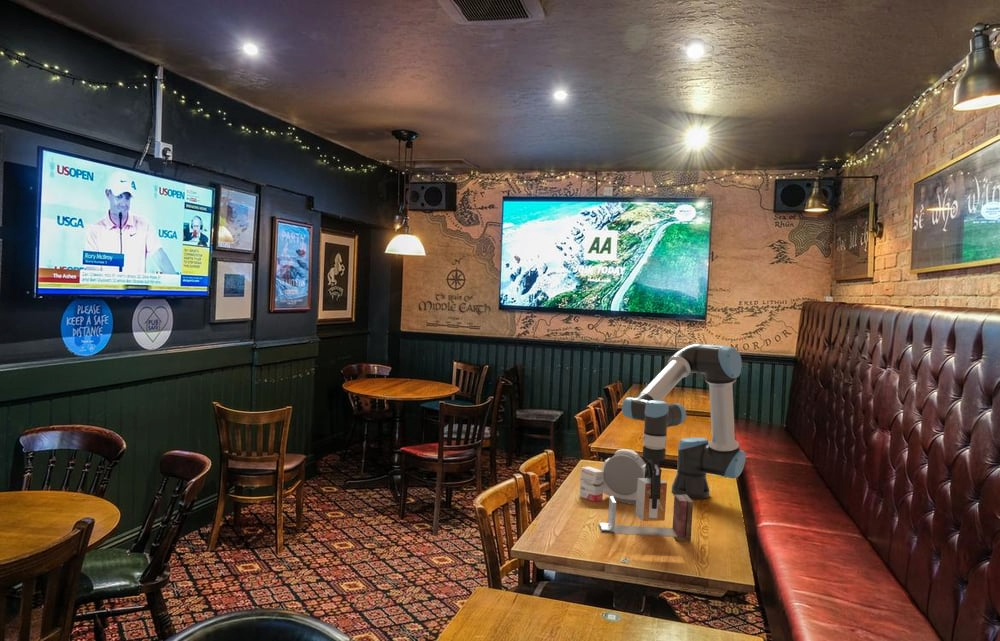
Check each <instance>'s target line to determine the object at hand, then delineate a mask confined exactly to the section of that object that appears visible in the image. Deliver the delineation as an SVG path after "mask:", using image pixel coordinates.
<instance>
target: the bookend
mask: <svg viewBox="0 0 1000 641" xmlns="http://www.w3.org/2000/svg"><path fill="white" fill-rule="evenodd" d="M608 500H609V502H608V518H607V519H608V520H607V522H599V524H600V527H601V530H602V531H611V532H615V525H616V513H617V501H615V499H614V497H613V496H610V497H609V499H608Z"/></svg>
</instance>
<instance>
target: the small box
mask: <svg viewBox="0 0 1000 641" xmlns="http://www.w3.org/2000/svg"><path fill="white" fill-rule="evenodd" d="M667 490H668V483H667V482H666V481H664V480H663V479H661V487H660V499H658V513H657V518H649V502H650V499H649V497H651V483H650V478H638V483H637V498H636V505H635V516H636V517H637V518H638V519H640V520H641V521H643V522H649V521H650V522H656V521H657V522H658V521H661V522H664V521H665V520H666V519H665V518H666V504H667V503H666V502H667V492H668V491H667Z"/></svg>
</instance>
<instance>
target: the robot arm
mask: <svg viewBox="0 0 1000 641" xmlns="http://www.w3.org/2000/svg"><path fill="white" fill-rule="evenodd" d="M742 368H743V362H742V356H741V354H740V352H739V351H738V350H737V348H735V347H733V346H727V345H717V344H716V345H715V344H704V343H693V344H690V345H687V346H685V347H683V348H681V349H680V350H678V351H676V352H675V353H674V354H673V355H671V357H670V358H669V359H668V361H667V365H666V366H664V367H663V368H662V370H660V372H659V373H658V374H656V376H655V377H654V378H653V379H652V380H651V381H650V382H649V383H648V384H647V385H646V386H645V387H644V388H643V390H642V391H640V393H639V394H638V395H636V396H635V397H626V398H625V399H624V400H623V402H622V404H621V411H622V414H623V416H624V417H625V418H629V419H632V420H636V421H642V422H644V424H643V425H644V428H643V436H641V439H642V440H643V443H642V444H643V447H642V457H643V458H644V459H645V460H644V462H645V464H646V465H645V477H644V478H650V483H651V497H649V499H650V502H649V518H657V513H658V499H660V487H661V478H662V477H661V476H662V472H663V471H662V468H661V465H660V461H664V460H665V459H666V452H667V451H666V447H667V433H668V428H670V427H676V426H679V425H681V424H683V423H684V422H685V421H686V418H687V411H686V409H685V407H684V406H683V405H682V404H680V403H673V402H672V403H668V402H666V401H664V398H666V396H667V395H669V393H670V392H671V391H672V390H673V389H674V388H675V387H676V385H677V384H678V383H680V381H681V380H682V379H683V378H687V377H688V376H690V374H694V373H696V374H703V375H704V381H705V382H706V383H707V384H708V385H709V386H708V387H709V406H710V407H709V408H710V424H711V426H710V427H711V440H708V438H705V437H685V438H682V439H680V440H679V442H678V448H677V464H676V465H677V467H676V468H677V469H676V474H675V477H674V480H673V482H672V485H671V493H672V494H674V495H682V494H685V495H688V497H689V498H690V499H691V500H692V499H693V500H694V499H695V500H703V499H704V500H705V499H708V498H709V497H710V486H709V483H708V479H707V474H710V475H711V474H712V475H715V476H720V477H723V478H728V479H737V478H739V477H740V475H741V474H742V472H743V470H744V467H745V464H746V457H747V456H746V453H745V451H744V450H742V449H740V443H739V441H737V440H736V439H735V438H736V435H735V414H734V413H735V412H734V394H733V393H734V392H733V391H734V390H733V384H734V383H735V382H736V381H737V378H739V377H740V375H741V374H742Z"/></svg>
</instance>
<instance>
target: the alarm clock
mask: <svg viewBox="0 0 1000 641" xmlns="http://www.w3.org/2000/svg"><path fill="white" fill-rule="evenodd" d="M645 465H646V461H645V460H644V459H643V458H642V457H641V456H640V455H639V452H638V453H637V452H636V451H634V450H632V449H626V448H622V449H618V450H616V451H615V453H614V455H613V456H611V457H608V458H607V459H605V460H604V462H603V463H602V465H601V469H600V470H601V471H604V478H603V495H607V496H609V497H610V496H613V497H614V499H615V501H616V503H623V504H626V505H627V504H629V505H633V506H636V498H637V483H638V478H644V477H645Z"/></svg>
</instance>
